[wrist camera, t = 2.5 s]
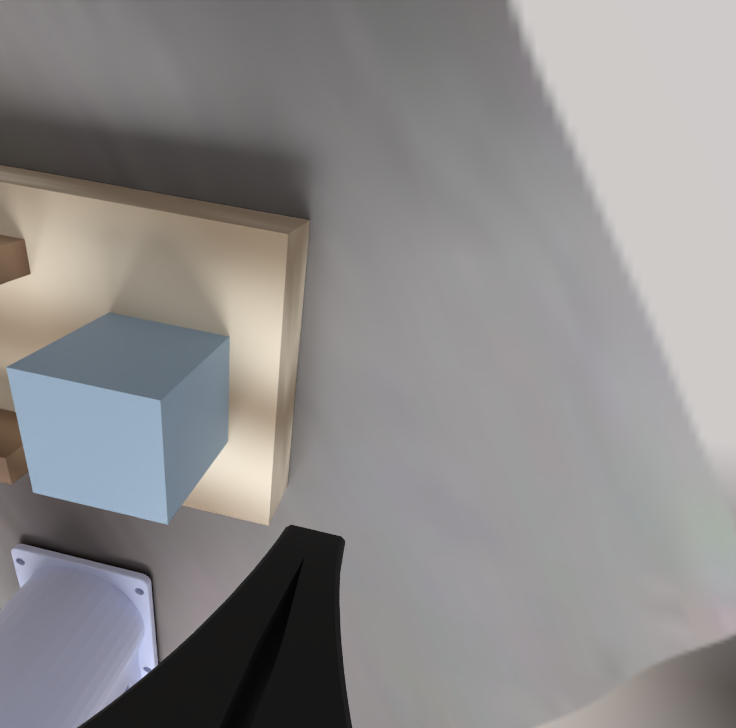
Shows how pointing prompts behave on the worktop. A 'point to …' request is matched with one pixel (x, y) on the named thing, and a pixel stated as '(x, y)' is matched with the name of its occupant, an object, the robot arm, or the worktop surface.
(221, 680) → the robot arm
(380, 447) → the worktop surface
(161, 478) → the block
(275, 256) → the board
